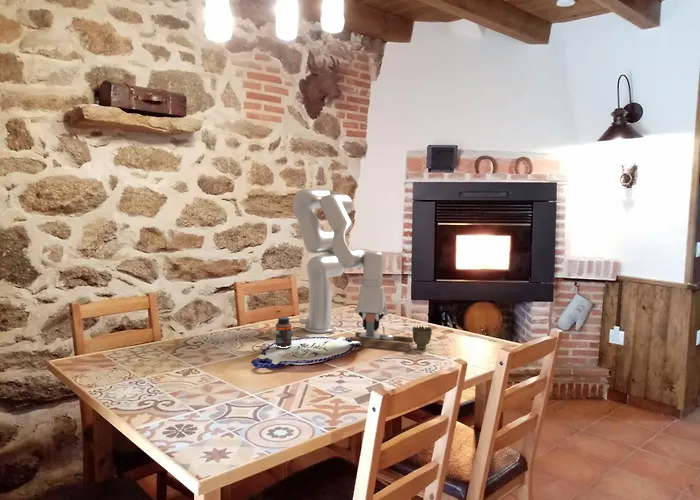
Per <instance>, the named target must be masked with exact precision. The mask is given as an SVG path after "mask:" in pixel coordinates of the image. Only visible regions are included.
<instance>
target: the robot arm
mask: <svg viewBox="0 0 700 500" xmlns="http://www.w3.org/2000/svg"><path fill="white" fill-rule="evenodd" d="M292 207H293V211H294V215H295V217H296V220H297V223H298V225H299V228H300V232H301V233H300V234H301V237H302V240H303V241H302V242H303V246H304V248H305V250H306V251H307V252H308V253H309V254H322V255H316V256H312V257H311V258H310V259H309V260H308V262H307V265H306V270H307V277H308V317H307V318H305V317H304V318H303V317H300V318H299V320H298V322H299V323H300V324H301V325H302V324H303V325H304V330H305V331H306V332H308V333H315V334H326V333H331V332H334V331H335V326H334V325H333V324H332V293H333V291H332V289H333V288H332V285H331V282H330V280H329V278H333V277H339V276H341V275H342V274H343V273H344V272H345V269H346V270H354V269H361V268H362V279H359V280H358V283H359V284H361V285H360V287H359V292H358V299H357V300H358V301H357V305H356V307H355V309H354V310H353V311H354V312H355V313H356V314H358V315H359V316H360V318H361V319H362V327H363V330H364V331H366V314H367V313H375V315H376V319H375V323H374V330H375V332H376V331H378V329H380V321H381V319H382V318H383V317H386V316H388V315H389V314H390V313H389V310H388V308H387V306H386V297H385V288H384V286H383V272H384V270H383V269H384V267H383V266H384V255H383V253H382V252H381V251H377V250H369V249H366V248H355V249H354V248H353V249H352V248H351V249H350V247H349V246H348V243H347V242H346V238H345V235H346V234H347V233H348V232H349V231H350V230H351V229H352V228H353V221H352V220H351V218H350V216H349V215H348V214H349V213H351V212H352V210H353V208H354V207H353V201H352V198H351V197H350V196H349V195H347V194H345V193H342V192H338V191H334V190H331V189H326V188H304V189H301V190H298V191H297V192H296V193H295V195H294V198H293V203H292ZM318 209H319V210H321V211H322V213H323V214H324V216H325V218H326V221H327V222H328V225H329V226H330V228H331V230H327V229H326V230H323V229H322V227H321V224H320V221H319V218H318V217H317V215H316V214H315V213H314V212H313V210H318Z"/></svg>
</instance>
